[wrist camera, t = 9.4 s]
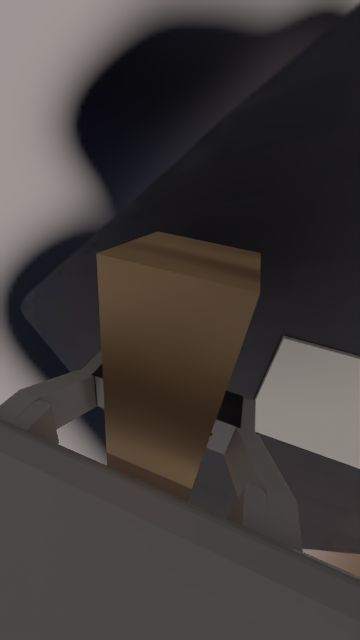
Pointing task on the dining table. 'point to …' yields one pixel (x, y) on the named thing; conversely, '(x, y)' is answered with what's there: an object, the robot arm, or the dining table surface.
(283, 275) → the dining table surface
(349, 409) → the mat
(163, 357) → the wooden block
